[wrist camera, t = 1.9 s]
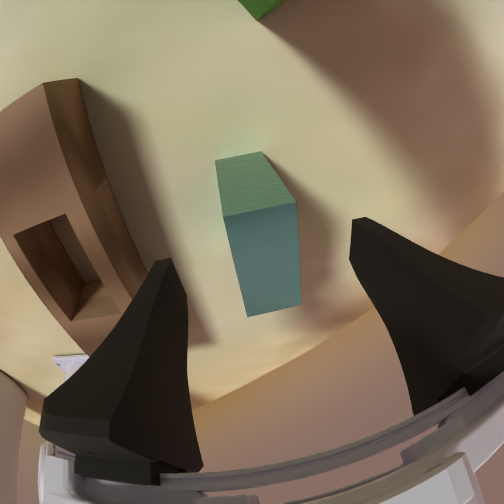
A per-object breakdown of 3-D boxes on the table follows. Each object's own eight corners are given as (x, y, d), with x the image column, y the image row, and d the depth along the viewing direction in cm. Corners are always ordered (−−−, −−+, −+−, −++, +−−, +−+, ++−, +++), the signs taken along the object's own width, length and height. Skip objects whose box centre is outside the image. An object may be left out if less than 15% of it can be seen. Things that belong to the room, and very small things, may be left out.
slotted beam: (175, 325, 20) (174, 363, 17) (109, 335, 20) (103, 370, 17) (77, 78, 9) (42, 82, 6) (-1, 125, 9) (-38, 144, 6)
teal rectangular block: (271, 231, 17) (301, 304, 12) (232, 239, 17) (247, 317, 12) (261, 151, 14) (296, 202, 9) (214, 160, 14) (223, 217, 9)
